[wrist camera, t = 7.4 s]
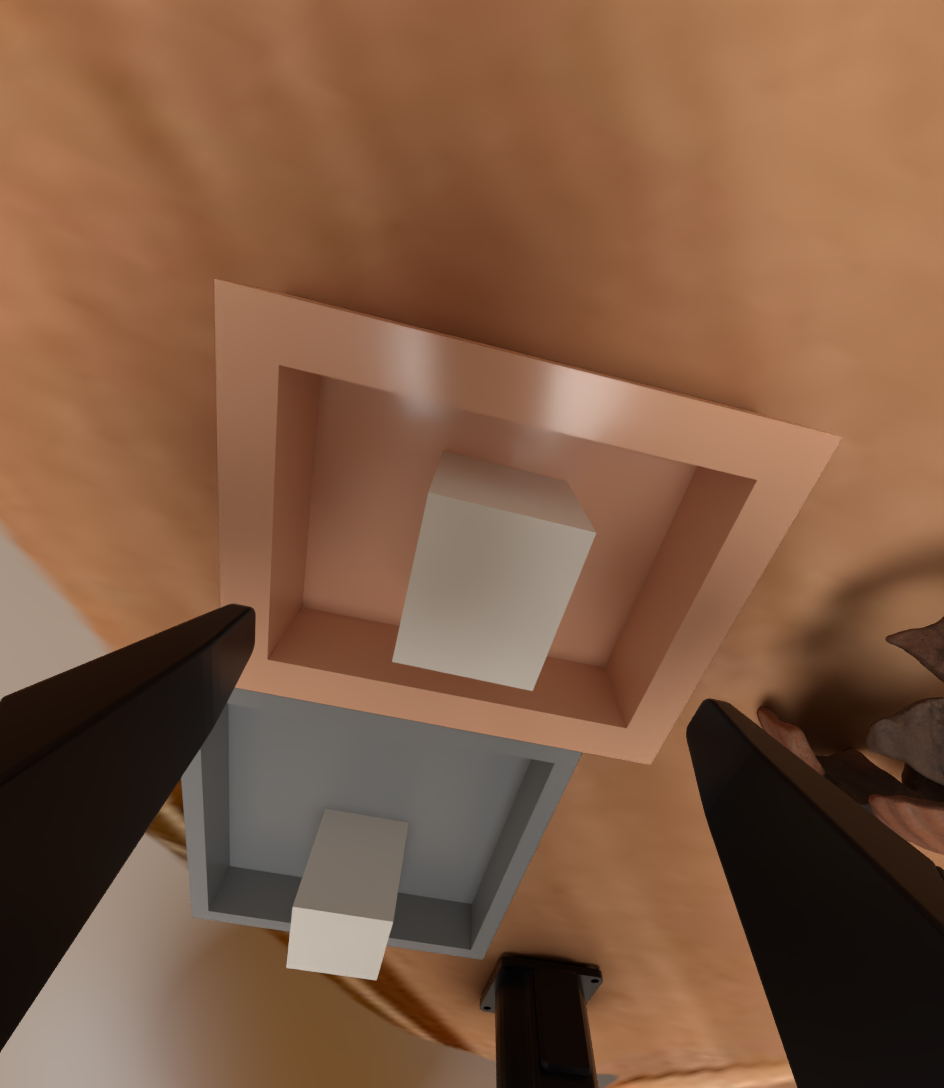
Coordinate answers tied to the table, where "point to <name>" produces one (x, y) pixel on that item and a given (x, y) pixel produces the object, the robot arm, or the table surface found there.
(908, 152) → the table surface
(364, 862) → the off-white rectangular prism
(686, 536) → the terracotta dish
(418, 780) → the parts tray
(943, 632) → the brown curved piece
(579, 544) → the cream rectangular block
